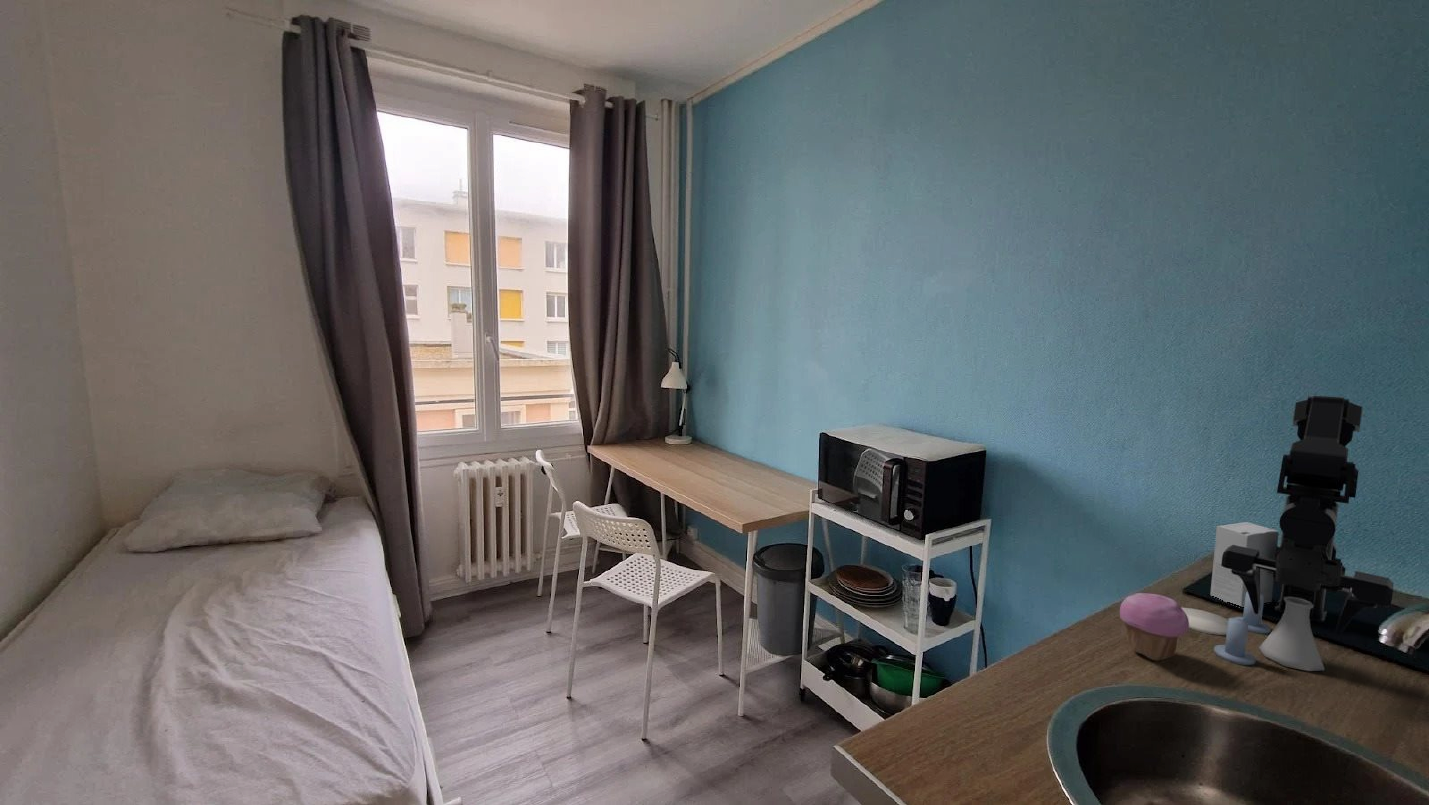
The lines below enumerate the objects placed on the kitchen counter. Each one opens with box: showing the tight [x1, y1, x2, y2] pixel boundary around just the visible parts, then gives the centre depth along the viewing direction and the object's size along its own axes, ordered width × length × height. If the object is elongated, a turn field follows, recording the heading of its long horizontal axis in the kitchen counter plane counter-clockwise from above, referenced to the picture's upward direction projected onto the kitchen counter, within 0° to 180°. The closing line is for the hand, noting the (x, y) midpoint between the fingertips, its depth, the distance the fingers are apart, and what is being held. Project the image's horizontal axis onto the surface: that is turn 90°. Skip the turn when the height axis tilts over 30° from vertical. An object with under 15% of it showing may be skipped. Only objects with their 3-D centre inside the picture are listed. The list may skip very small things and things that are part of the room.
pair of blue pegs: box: [1213, 592, 1272, 666], centre depth 99 cm, size 20×5×6 cm, turn 130°
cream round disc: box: [1181, 607, 1229, 636], centre depth 106 cm, size 9×9×1 cm
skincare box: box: [1210, 521, 1280, 607], centre depth 114 cm, size 8×6×15 cm
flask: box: [1259, 597, 1325, 672], centre depth 93 cm, size 7×7×10 cm
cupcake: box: [1119, 592, 1190, 662], centre depth 94 cm, size 9×9×10 cm
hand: (1295, 624), depth 93 cm, fingers open, 9 cm apart
